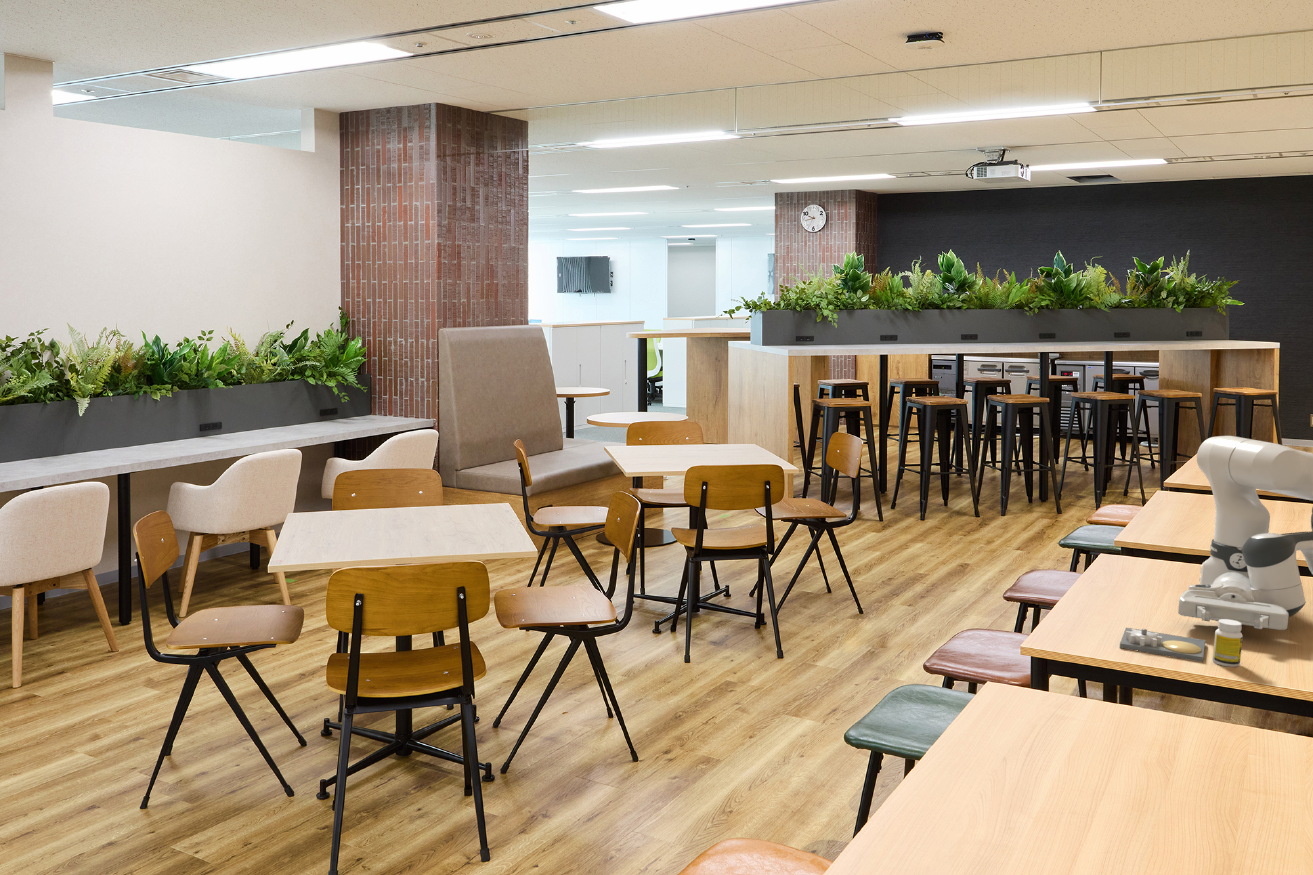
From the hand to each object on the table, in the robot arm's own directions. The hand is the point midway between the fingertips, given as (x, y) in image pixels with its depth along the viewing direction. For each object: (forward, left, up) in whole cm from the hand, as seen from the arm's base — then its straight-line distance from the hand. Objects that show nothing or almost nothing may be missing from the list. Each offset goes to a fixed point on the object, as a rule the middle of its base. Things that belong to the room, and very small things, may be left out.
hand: (1231, 621), depth 209 cm
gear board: (+8, -12, -5) cm, 15 cm away
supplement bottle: (+12, 0, -5) cm, 13 cm away
